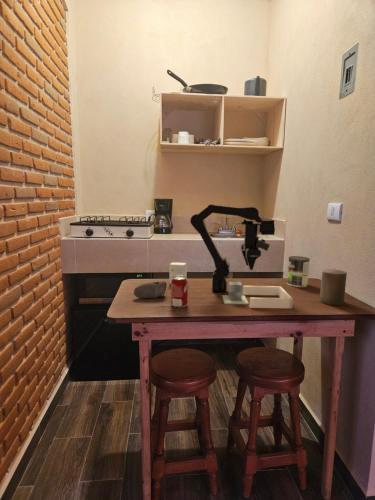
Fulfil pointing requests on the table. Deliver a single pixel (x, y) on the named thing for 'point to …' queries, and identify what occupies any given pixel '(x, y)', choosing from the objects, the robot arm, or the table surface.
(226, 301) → the sage pad
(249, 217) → the robot arm
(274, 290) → the open-sided box
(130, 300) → the table surface
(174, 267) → the small box
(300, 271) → the clear lidded jar
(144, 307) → the table surface
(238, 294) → the slate block
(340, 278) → the pillar candle
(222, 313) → the table surface
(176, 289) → the soda can
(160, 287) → the perforated stone tool
